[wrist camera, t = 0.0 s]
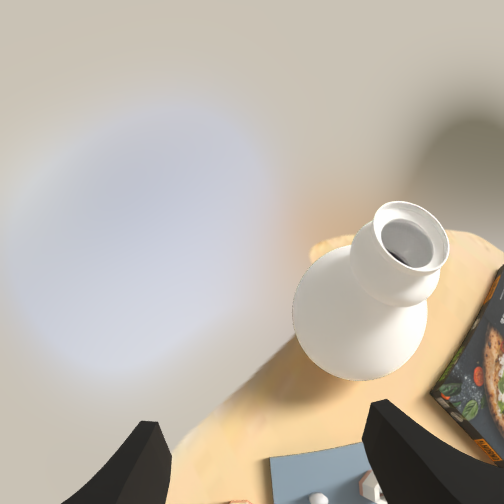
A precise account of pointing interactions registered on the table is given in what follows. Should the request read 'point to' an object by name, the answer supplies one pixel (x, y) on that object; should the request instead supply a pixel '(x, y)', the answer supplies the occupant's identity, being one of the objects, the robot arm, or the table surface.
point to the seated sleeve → (371, 488)
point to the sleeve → (240, 502)
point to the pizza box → (479, 377)
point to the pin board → (320, 476)
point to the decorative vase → (371, 294)
